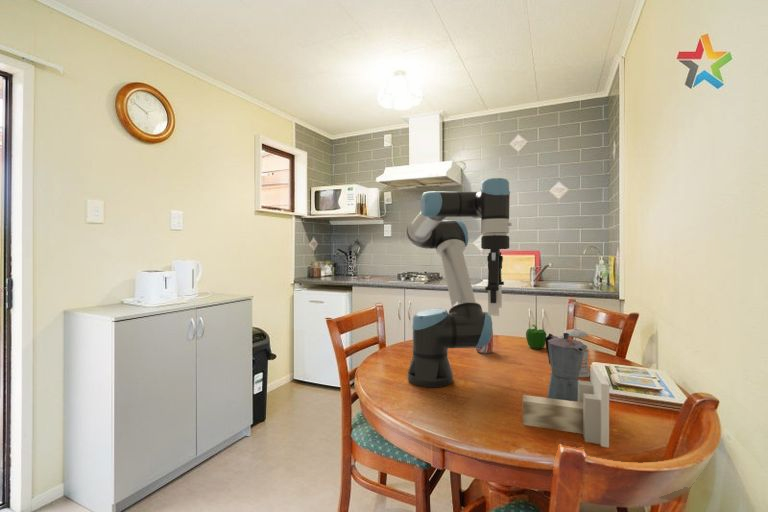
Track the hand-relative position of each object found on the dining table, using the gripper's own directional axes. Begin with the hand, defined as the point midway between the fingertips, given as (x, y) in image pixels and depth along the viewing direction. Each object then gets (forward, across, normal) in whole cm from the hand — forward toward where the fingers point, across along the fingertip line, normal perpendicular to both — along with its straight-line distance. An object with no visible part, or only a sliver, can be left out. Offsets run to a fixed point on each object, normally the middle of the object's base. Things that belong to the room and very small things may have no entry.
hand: (495, 311), depth 102 cm
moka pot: (+27, +10, -18) cm, 34 cm away
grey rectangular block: (+27, -7, -15) cm, 32 cm away
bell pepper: (+27, +68, -13) cm, 74 cm away
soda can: (+27, +54, +8) cm, 61 cm away
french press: (+27, +38, -24) cm, 52 cm away
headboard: (+27, -7, -22) cm, 35 cm away
